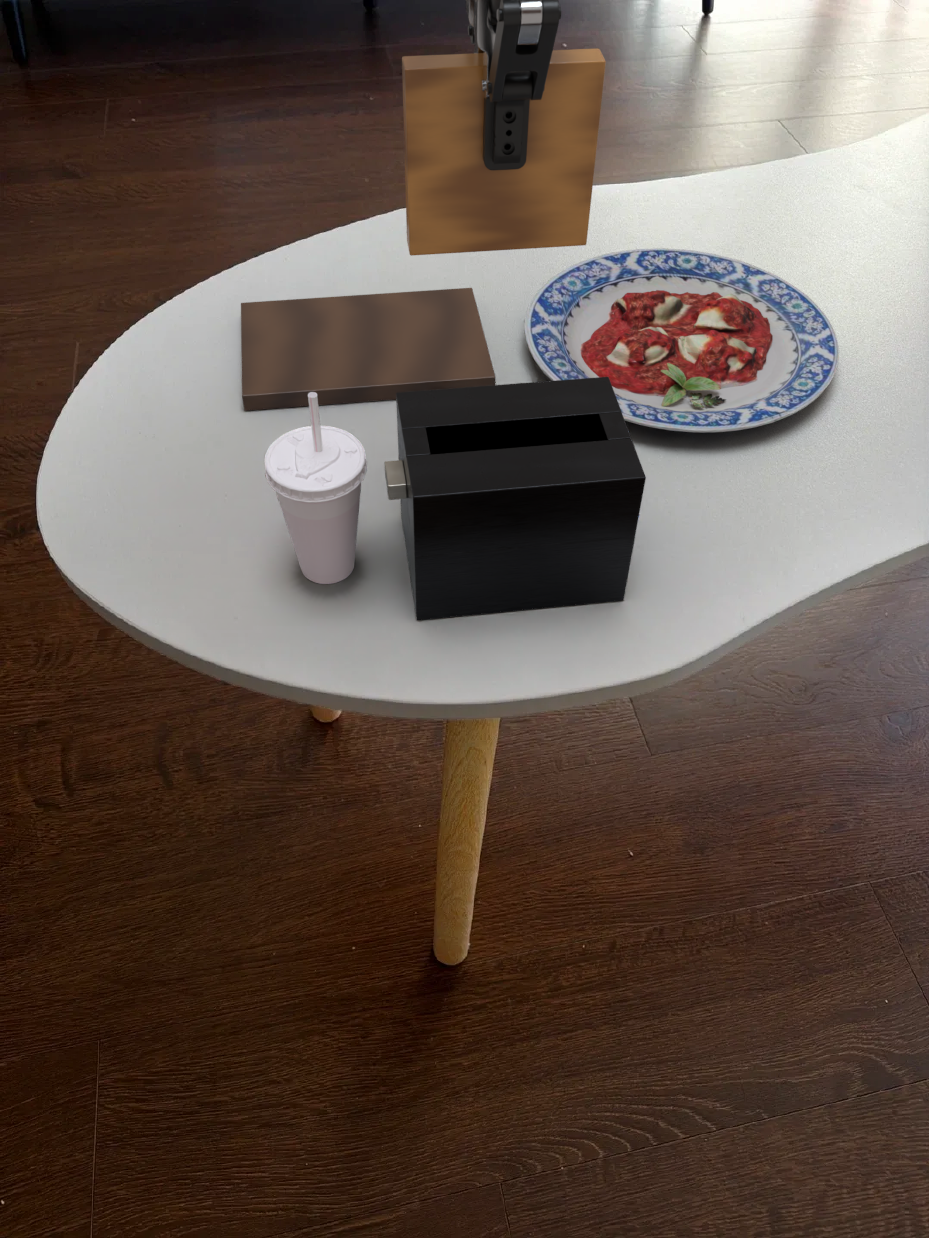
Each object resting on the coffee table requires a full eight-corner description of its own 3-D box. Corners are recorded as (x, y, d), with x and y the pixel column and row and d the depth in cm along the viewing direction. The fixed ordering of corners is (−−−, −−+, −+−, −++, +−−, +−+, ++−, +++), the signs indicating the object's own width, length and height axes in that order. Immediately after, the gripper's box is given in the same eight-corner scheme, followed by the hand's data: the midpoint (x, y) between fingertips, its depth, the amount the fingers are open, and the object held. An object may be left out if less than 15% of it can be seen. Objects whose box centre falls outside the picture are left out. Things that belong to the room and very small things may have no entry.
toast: (409, 256, 61) (404, 69, 53) (406, 241, 62) (401, 56, 54) (586, 246, 62) (606, 61, 54) (580, 231, 63) (599, 47, 55)
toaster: (398, 622, 72) (392, 499, 64) (384, 518, 79) (377, 393, 70) (623, 600, 74) (646, 477, 65) (591, 500, 80) (608, 376, 72)
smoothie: (388, 544, 77) (379, 380, 66) (352, 609, 73) (336, 445, 62) (304, 523, 78) (282, 358, 68) (264, 585, 74) (234, 420, 64)
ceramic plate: (559, 251, 103) (562, 221, 100) (840, 295, 98) (849, 266, 96) (488, 417, 86) (489, 386, 84) (821, 480, 82) (832, 449, 80)
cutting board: (244, 411, 86) (241, 396, 85) (243, 317, 95) (240, 302, 94) (494, 392, 88) (495, 377, 87) (471, 302, 97) (472, 287, 96)
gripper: (409, -290, 49) (416, 103, 62) (446, -212, 40) (445, 227, 53) (573, -292, 50) (547, 97, 63) (646, -216, 41) (597, 219, 54)
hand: (500, 155), depth 58 cm, fingers closed on toast
